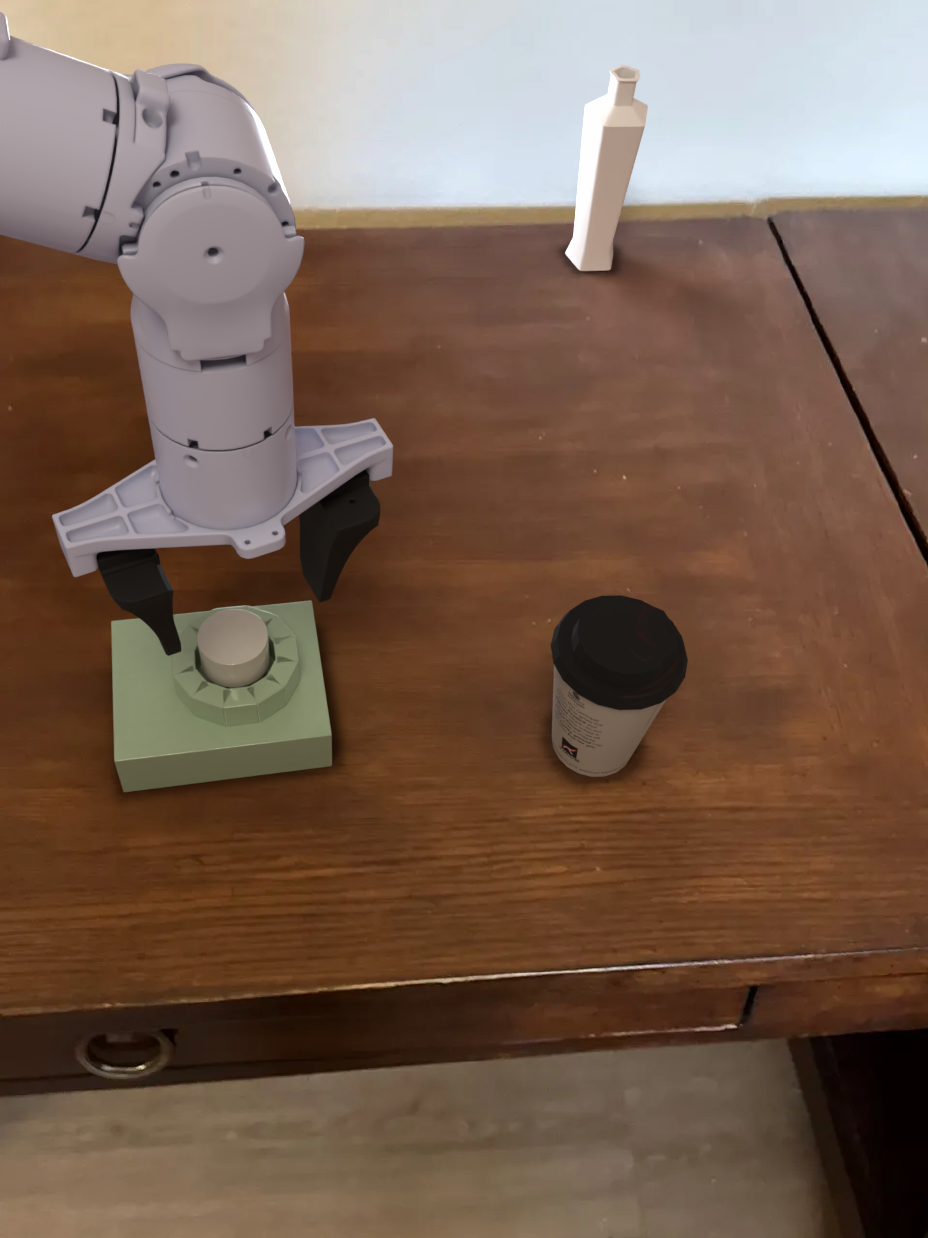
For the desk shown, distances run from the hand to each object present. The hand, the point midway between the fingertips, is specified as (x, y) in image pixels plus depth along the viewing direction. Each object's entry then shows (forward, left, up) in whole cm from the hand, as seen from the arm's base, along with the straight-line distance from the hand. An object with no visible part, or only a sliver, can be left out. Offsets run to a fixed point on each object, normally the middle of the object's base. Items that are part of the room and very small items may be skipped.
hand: (243, 611), depth 58 cm
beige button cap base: (-2, +1, -10) cm, 11 cm away
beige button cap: (-1, +1, -6) cm, 6 cm away
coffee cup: (+18, -4, -11) cm, 21 cm away
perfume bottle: (+29, +39, -11) cm, 50 cm away
